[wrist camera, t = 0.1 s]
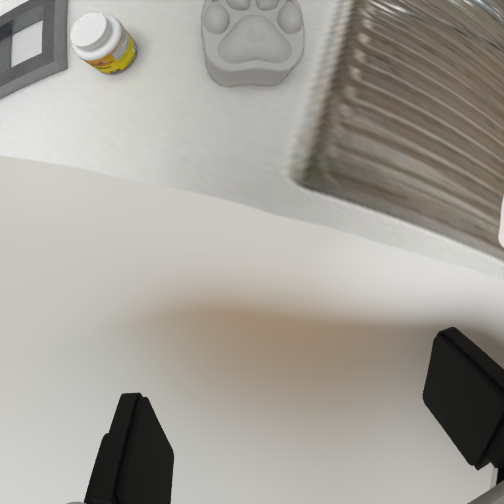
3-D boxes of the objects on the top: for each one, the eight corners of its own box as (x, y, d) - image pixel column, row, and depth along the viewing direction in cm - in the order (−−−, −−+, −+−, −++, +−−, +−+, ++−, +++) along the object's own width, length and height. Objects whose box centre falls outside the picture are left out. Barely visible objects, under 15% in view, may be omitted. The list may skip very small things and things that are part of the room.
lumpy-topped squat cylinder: (205, 88, 34) (201, 69, 26) (203, -2, 30) (200, -36, 22) (292, 86, 35) (312, 68, 27) (285, -2, 31) (301, -35, 23)
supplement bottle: (88, 66, 31) (52, 44, 21) (113, 30, 30) (84, -1, 20) (121, 82, 32) (91, 61, 23) (147, 45, 31) (125, 13, 22)
